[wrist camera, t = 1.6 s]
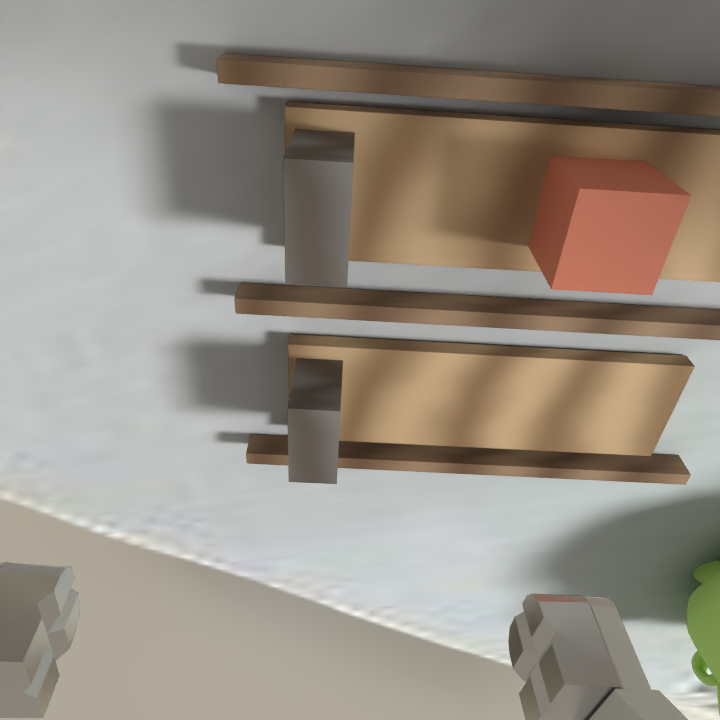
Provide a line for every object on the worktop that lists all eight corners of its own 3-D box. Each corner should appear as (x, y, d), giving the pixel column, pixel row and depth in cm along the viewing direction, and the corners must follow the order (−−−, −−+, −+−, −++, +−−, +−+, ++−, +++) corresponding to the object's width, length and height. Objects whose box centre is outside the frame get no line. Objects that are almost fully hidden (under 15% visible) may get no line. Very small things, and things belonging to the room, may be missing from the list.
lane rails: (867, 96, 29) (897, 104, 27) (673, 464, 44) (685, 484, 42) (225, 52, 28) (216, 59, 26) (251, 443, 43) (246, 463, 41)
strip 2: (686, 355, 38) (735, 418, 33) (644, 444, 43) (681, 510, 38) (290, 334, 37) (278, 394, 32) (291, 426, 42) (281, 492, 37)
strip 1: (790, 134, 30) (876, 172, 25) (724, 273, 35) (786, 329, 30) (287, 101, 29) (270, 133, 24) (289, 248, 34) (275, 300, 29)
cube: (646, 161, 30) (691, 195, 26) (616, 251, 33) (652, 294, 28) (550, 155, 30) (580, 188, 25) (528, 246, 32) (551, 289, 28)
